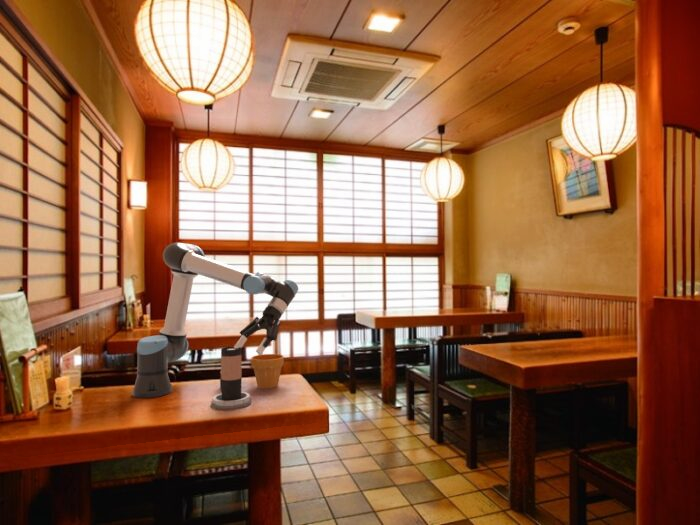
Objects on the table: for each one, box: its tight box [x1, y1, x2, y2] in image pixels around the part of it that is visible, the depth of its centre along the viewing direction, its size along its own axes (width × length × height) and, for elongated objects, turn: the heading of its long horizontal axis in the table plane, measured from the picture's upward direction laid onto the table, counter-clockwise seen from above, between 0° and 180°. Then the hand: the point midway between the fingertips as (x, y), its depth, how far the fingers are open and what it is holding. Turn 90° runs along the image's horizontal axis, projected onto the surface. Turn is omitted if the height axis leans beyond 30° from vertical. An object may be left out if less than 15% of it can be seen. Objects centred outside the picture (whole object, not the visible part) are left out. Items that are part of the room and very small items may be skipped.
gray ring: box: [210, 391, 252, 411], centre depth 165 cm, size 15×15×3 cm
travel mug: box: [220, 346, 243, 401], centre depth 166 cm, size 8×8×20 cm
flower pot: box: [250, 353, 285, 389], centre depth 191 cm, size 14×14×13 cm
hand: (246, 351), depth 171 cm, fingers open, 13 cm apart
